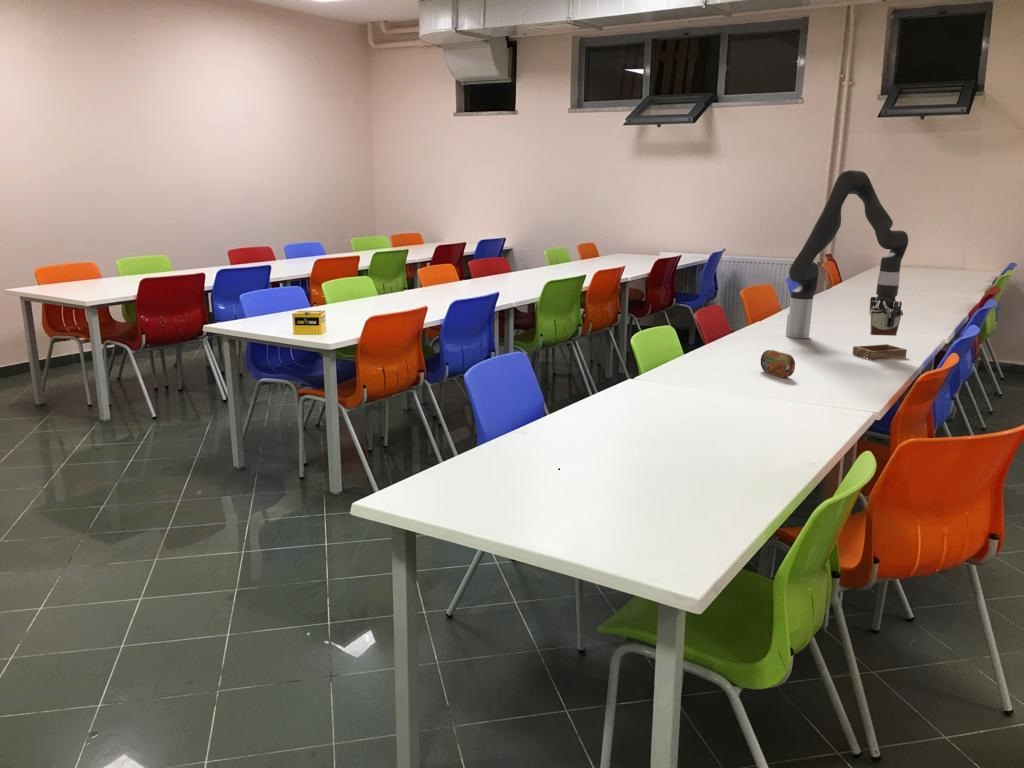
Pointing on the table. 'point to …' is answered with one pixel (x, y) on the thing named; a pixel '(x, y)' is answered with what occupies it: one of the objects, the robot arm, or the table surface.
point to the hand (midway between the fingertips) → (882, 325)
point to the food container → (883, 323)
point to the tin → (777, 363)
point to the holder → (879, 351)
